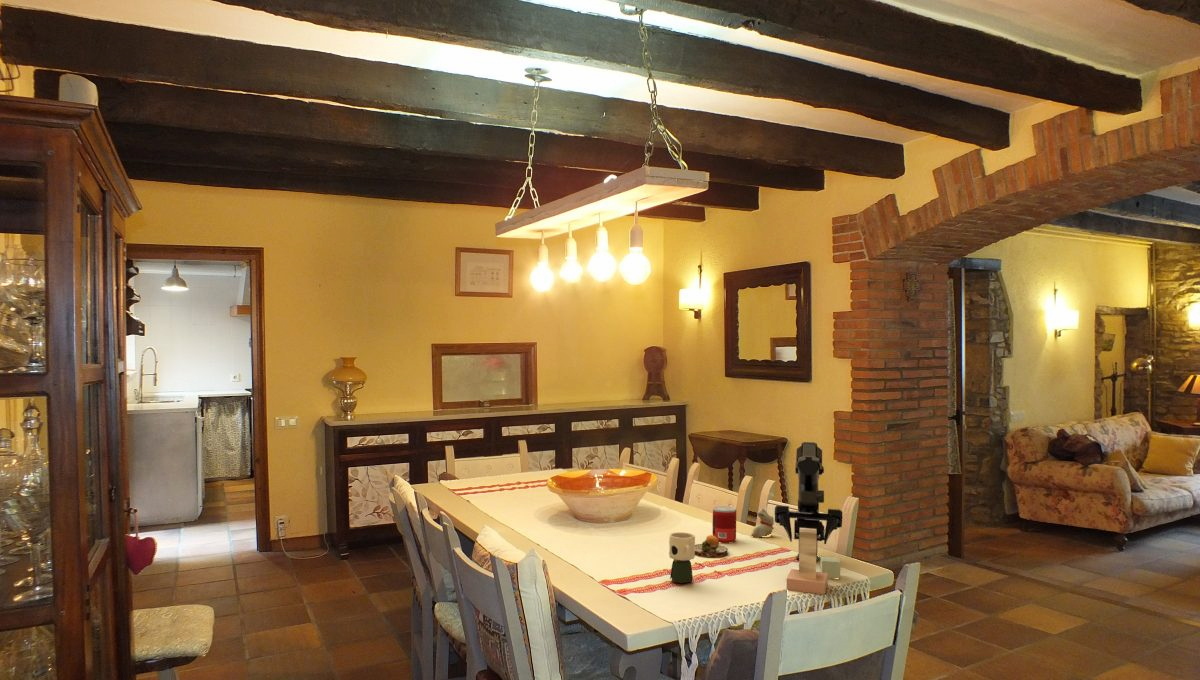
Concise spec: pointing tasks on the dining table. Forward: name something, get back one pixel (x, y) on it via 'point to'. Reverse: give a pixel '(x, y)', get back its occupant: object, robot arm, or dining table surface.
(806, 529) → the beech post
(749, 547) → the dining table surface
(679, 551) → the character mug
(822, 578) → the terracotta tile
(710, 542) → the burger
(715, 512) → the canned food
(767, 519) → the grey plush toy
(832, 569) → the sage block
